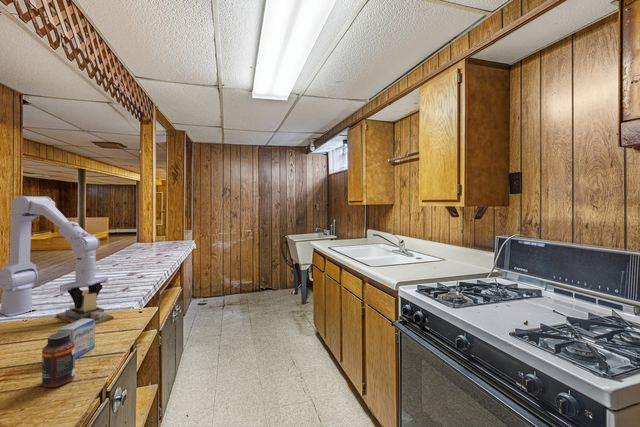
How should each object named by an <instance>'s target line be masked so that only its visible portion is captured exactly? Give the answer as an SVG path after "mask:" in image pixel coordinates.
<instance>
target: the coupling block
mask: <svg viewBox="0 0 640 427" xmlns="http://www.w3.org/2000/svg"><path fill="white" fill-rule="evenodd" d="M82 291H83V292H82V296H81V308H80V309H77V308H75V312H76V313H79V314H85V313H89V312H92V311H96V307H97V298H98V296H97V293H95V292H92V291H89V289H88V290H82Z"/></svg>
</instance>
